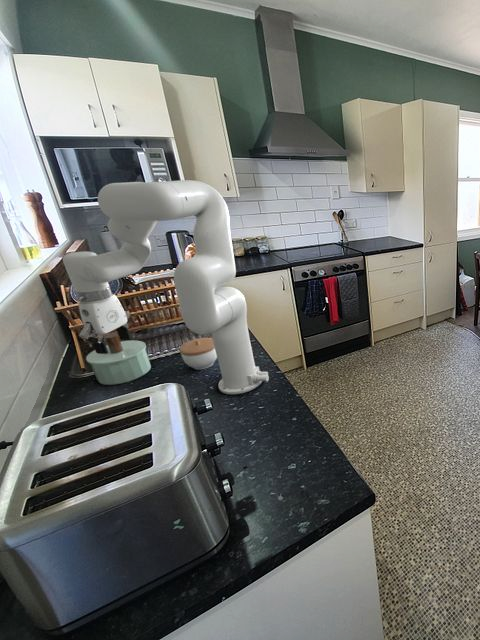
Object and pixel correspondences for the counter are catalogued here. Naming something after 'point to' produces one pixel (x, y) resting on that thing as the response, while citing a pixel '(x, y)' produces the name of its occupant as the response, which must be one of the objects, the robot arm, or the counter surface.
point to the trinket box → (198, 353)
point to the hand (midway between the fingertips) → (114, 346)
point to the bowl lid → (116, 351)
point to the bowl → (122, 370)
